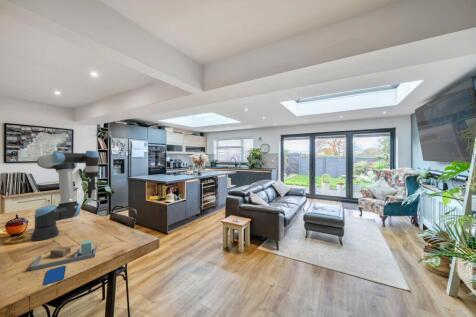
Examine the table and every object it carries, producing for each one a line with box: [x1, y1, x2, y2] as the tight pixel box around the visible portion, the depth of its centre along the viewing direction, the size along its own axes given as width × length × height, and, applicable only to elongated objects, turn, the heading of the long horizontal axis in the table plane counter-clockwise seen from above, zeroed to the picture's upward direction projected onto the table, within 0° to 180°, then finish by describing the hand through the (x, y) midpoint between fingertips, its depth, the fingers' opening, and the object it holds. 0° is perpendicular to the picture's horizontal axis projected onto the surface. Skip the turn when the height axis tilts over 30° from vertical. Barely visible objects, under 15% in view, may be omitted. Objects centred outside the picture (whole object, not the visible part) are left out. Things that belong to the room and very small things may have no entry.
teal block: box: [80, 239, 93, 256], centre depth 119 cm, size 5×5×7 cm
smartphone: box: [42, 265, 67, 286], centre depth 96 cm, size 7×1×15 cm
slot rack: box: [28, 244, 98, 272], centre depth 113 cm, size 14×28×2 cm, turn 122°
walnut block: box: [49, 246, 72, 258], centre depth 117 cm, size 4×8×5 cm
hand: (91, 200), depth 137 cm, fingers open, 13 cm apart
